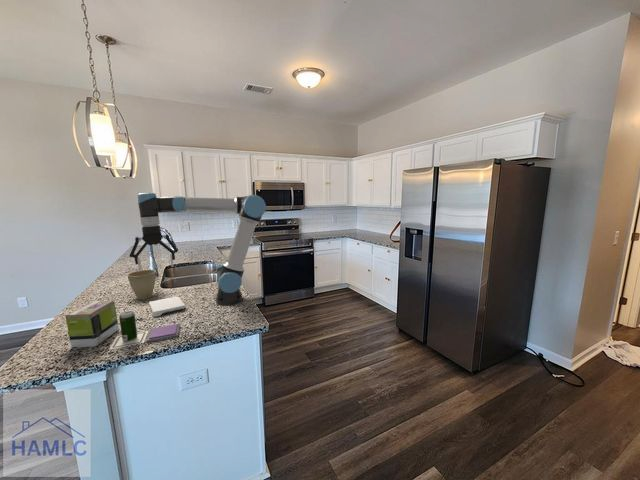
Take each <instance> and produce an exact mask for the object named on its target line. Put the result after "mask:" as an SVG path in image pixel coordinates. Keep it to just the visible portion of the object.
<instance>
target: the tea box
mask: <svg viewBox="0 0 640 480" xmlns="http://www.w3.org/2000/svg"><path fill="white" fill-rule="evenodd" d="M64 317H65V320H66V327H67V332H68V336H69V342H70V343H69V344H70V347H71V348H72V347H77V348H93V347H94V348H95V347H97V346H99V344H100V343H102V342H104V341H105V340H107V339H108V338H109V337H110V336H112V335H114V333H116V332H118V331H119V330H120V327H119V326H120V325H119V322H118V315H117V309H116V302H115V300H102V301H101V300H99V301H91V302H88V303H87V304H85V305H83V306H81V307H80V308H76V309H75V310H73V311H72V312H70V313H67V314H65V316H64Z"/></svg>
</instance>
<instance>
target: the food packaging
mask: <svg viewBox="0 0 640 480" xmlns="http://www.w3.org/2000/svg"><path fill="white" fill-rule="evenodd" d="M148 302H149V304H148V305H149V307H150V311H151V313H152V317H155V318H157V317H160V316H162V314H166V313H171V312H174V311H180V310H183V309H185V308H186V305H185V303H184V302H183V300H181V298H180V296H172V297H169V298H168V297H167V298H163V299H158V300H152V301H148Z"/></svg>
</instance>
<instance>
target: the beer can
mask: <svg viewBox="0 0 640 480" xmlns="http://www.w3.org/2000/svg"><path fill="white" fill-rule="evenodd" d="M136 321H137V320H136V314H135V312H134V311H133V310H127V311H124V312H120V313H119V326H120V333H121V335H122V340H123V341H124V342H131V341H134V340H136V339H137V333H138V329H137V322H136Z"/></svg>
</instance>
